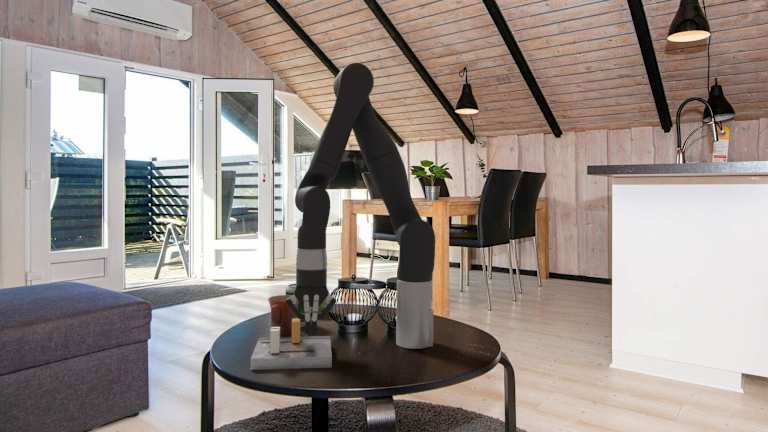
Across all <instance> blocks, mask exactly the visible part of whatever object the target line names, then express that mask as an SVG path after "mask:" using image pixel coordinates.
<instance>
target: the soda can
mask: <svg viewBox="0 0 768 432" xmlns="http://www.w3.org/2000/svg"><path fill="white" fill-rule="evenodd" d="M295 289H296V283H292V284H291V283H290V284H288V286H287V287H285V295H294V291H295ZM298 308H299V309H300V310H301V312H302V313H304V314H305V310H304V307H303V306H302V305H301V304H300V302H299V304H298ZM311 315H312V313H311V307H310V320H312V316H311ZM297 318H298V317H297ZM303 327H305V320H303V319H300V328H303Z"/></svg>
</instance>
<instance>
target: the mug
mask: <svg viewBox="0 0 768 432" xmlns="http://www.w3.org/2000/svg"><path fill="white" fill-rule="evenodd" d="M291 296H292V295H286V294H281V295H273V296H270V297H267V300H268V303H269V307H270V328H271V327H280V337H292V318H297V316H296V315H295V313H294V312H293V311H292V310H291V308H290V307H289V306H288V305H287V303H286V300H287V298H290V297H291ZM298 304H299V301H298V300H297V298H296V305H297V307H298Z"/></svg>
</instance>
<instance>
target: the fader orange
mask: <svg viewBox="0 0 768 432" xmlns="http://www.w3.org/2000/svg"><path fill="white" fill-rule="evenodd" d="M291 337H292V343H300V337H301V327H300V319H299V318H292V336H291Z"/></svg>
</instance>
